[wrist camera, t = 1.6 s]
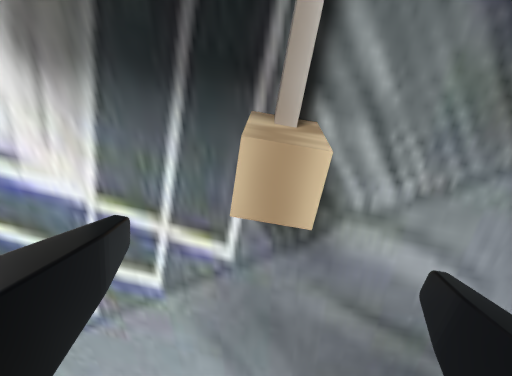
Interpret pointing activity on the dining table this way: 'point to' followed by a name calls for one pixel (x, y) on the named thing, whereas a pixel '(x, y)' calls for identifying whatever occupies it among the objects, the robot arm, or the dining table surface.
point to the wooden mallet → (285, 142)
